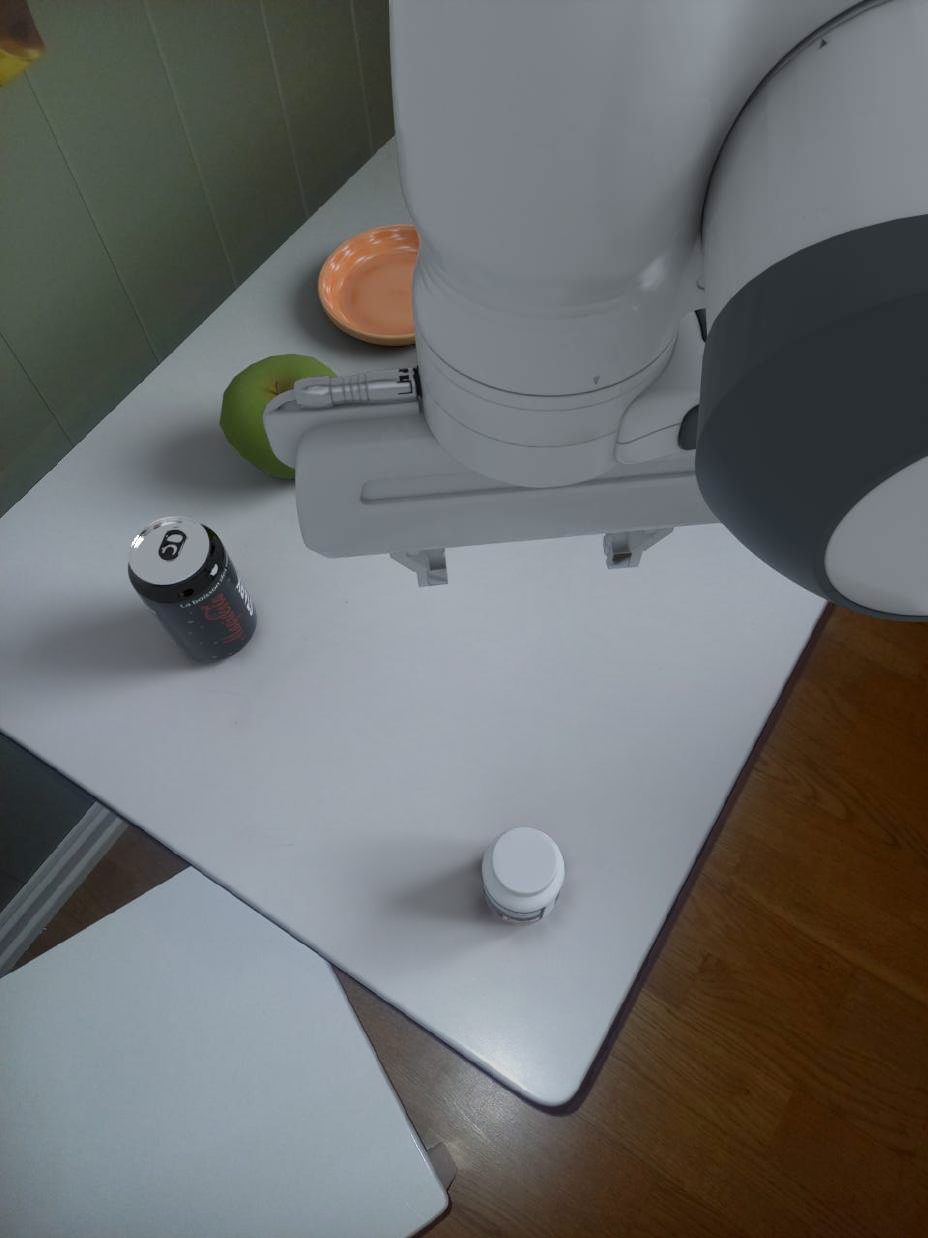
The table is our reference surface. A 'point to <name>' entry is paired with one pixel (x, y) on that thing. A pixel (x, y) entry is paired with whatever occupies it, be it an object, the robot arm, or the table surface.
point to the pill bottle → (522, 875)
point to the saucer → (372, 285)
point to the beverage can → (192, 587)
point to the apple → (262, 406)
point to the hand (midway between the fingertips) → (526, 565)
